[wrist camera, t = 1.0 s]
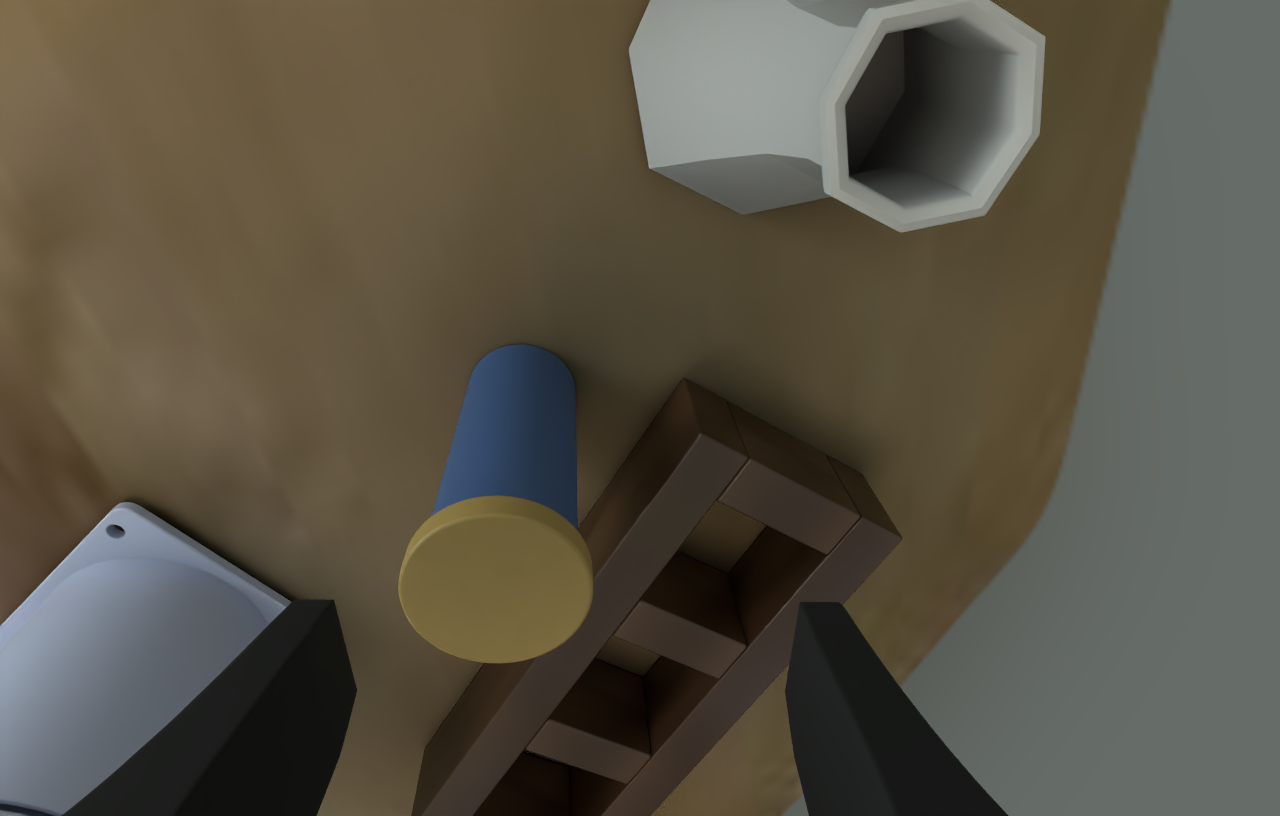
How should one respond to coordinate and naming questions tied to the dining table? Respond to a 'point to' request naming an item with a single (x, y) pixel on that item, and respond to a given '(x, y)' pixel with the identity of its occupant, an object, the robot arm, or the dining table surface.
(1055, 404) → the dining table surface
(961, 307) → the dining table surface
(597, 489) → the dining table surface
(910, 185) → the flask
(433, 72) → the dining table surface
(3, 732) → the robot arm
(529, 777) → the holder
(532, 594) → the capped tube
